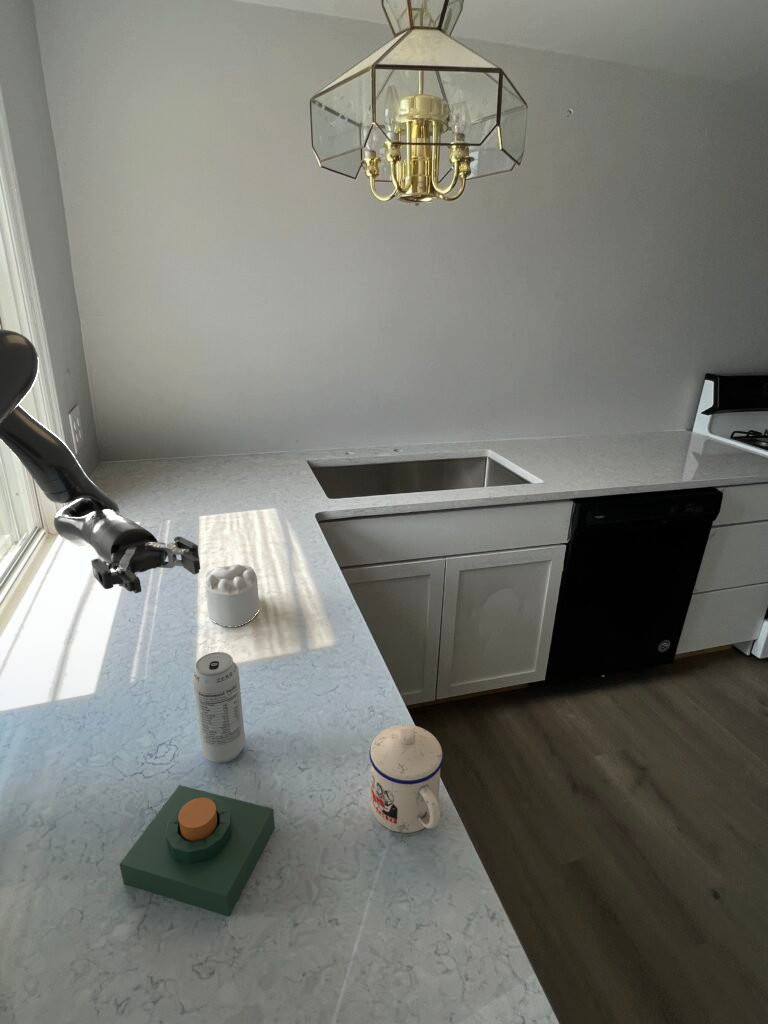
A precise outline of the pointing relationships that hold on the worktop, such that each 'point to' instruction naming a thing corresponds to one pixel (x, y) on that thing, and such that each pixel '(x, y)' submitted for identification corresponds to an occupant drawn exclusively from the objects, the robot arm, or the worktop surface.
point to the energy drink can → (219, 707)
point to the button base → (200, 853)
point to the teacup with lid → (405, 778)
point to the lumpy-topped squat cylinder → (231, 594)
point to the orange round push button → (198, 819)
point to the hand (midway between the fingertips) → (168, 576)
